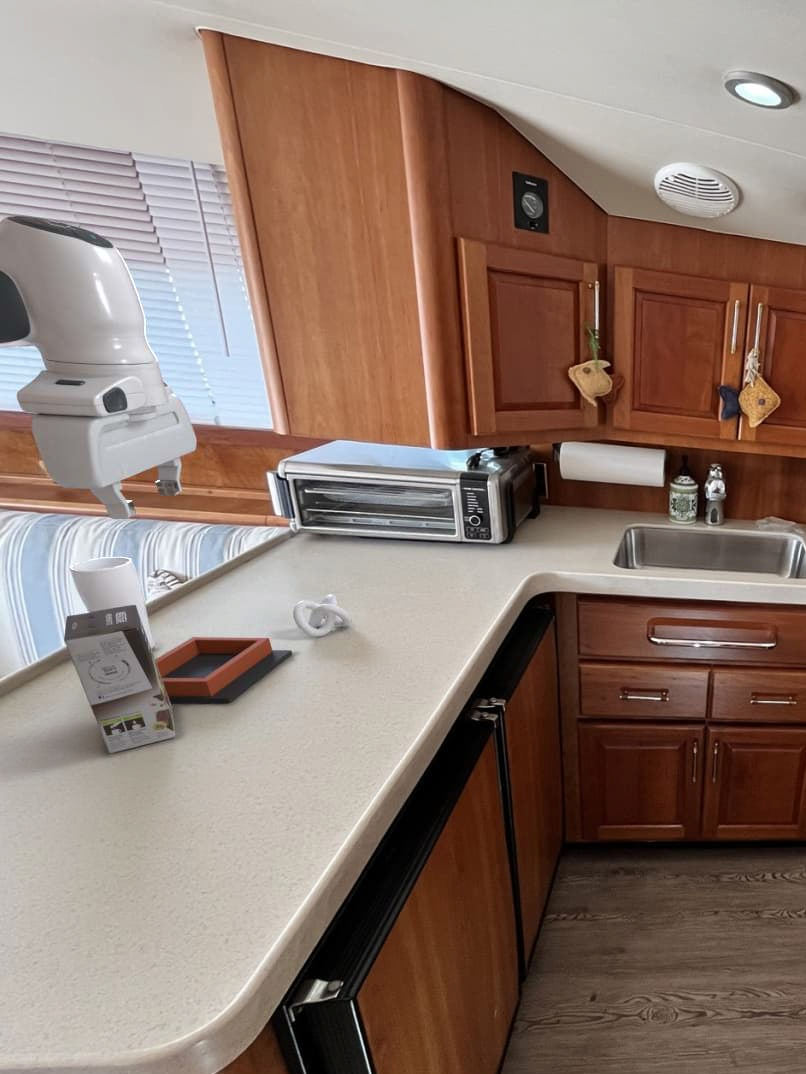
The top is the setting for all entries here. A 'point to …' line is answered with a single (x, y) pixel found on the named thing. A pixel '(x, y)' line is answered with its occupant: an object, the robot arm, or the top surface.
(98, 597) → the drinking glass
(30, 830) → the top surface
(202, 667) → the dock pad
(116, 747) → the coffee box
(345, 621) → the knot
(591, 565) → the top surface
